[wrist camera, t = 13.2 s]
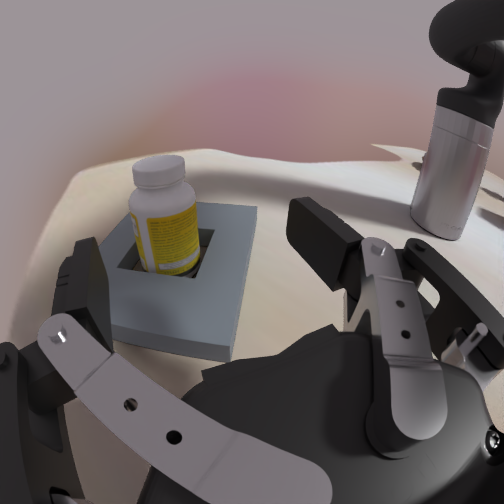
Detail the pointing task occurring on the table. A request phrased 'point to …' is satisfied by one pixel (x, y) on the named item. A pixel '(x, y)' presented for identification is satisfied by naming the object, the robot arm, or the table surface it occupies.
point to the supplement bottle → (165, 217)
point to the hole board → (183, 287)
